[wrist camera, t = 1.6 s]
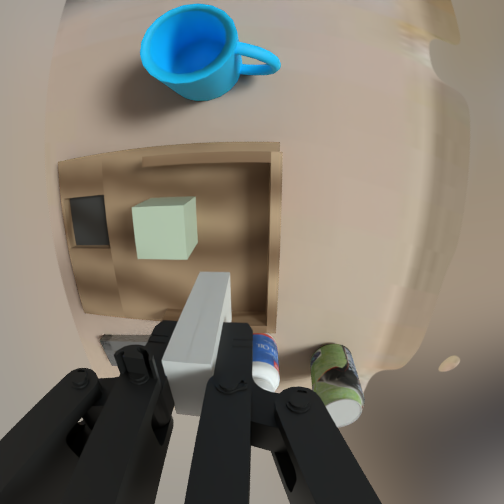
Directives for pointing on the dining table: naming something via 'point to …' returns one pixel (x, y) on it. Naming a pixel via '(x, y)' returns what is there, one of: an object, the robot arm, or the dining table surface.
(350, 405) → the beverage can
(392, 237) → the dining table surface
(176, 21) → the mug
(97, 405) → the robot arm
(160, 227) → the block
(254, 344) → the pill bottle
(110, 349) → the crook tool
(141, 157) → the cubby deck
